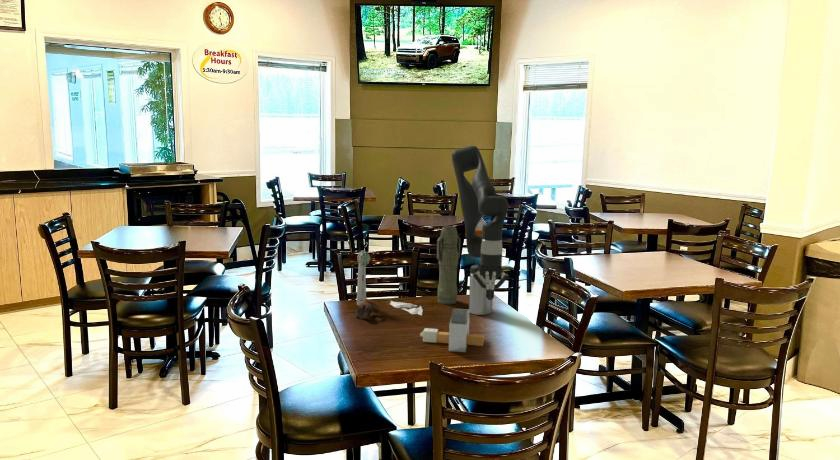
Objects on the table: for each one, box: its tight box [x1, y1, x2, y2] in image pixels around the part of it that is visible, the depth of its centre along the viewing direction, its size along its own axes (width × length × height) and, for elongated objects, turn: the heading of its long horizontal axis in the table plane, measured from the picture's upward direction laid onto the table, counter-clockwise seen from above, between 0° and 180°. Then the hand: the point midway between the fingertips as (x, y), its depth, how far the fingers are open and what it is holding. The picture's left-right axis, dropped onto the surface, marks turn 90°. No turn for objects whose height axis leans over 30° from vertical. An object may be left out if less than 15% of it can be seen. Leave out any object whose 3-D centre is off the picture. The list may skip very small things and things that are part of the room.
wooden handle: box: [419, 327, 485, 347], centre depth 230 cm, size 23×4×4 cm, turn 80°
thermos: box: [436, 225, 461, 305], centre depth 285 cm, size 9×12×35 cm
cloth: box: [389, 300, 424, 316], centre depth 276 cm, size 26×14×2 cm, turn 23°
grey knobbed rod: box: [356, 250, 371, 307], centre depth 276 cm, size 5×7×25 cm
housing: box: [448, 308, 471, 353], centre depth 229 cm, size 6×20×13 cm, turn 173°
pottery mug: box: [355, 298, 381, 320], centre depth 260 cm, size 12×9×8 cm
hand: (489, 299), depth 226 cm, fingers closed
